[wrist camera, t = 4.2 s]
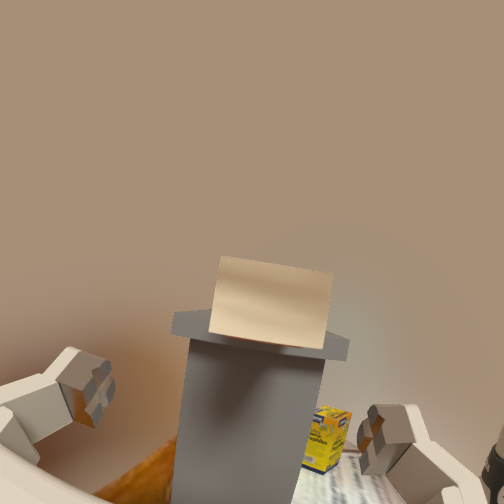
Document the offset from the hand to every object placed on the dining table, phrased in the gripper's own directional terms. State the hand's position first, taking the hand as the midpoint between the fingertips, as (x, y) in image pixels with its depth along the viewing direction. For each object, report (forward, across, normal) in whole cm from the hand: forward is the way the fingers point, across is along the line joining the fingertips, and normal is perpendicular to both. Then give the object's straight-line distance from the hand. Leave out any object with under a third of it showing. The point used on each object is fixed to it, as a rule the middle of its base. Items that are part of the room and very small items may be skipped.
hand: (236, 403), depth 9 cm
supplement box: (+24, +15, -42) cm, 51 cm away
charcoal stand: (+6, 0, -32) cm, 32 cm away
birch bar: (+14, 0, -6) cm, 15 cm away
